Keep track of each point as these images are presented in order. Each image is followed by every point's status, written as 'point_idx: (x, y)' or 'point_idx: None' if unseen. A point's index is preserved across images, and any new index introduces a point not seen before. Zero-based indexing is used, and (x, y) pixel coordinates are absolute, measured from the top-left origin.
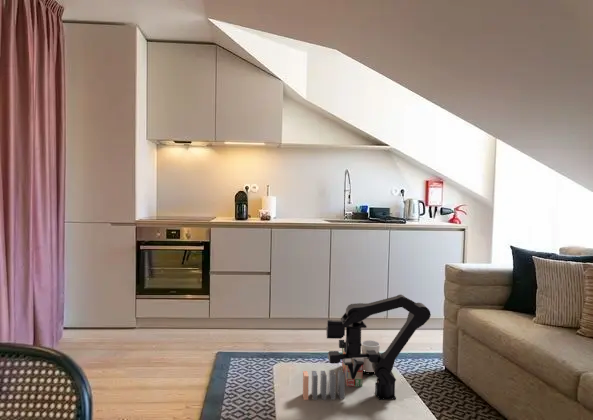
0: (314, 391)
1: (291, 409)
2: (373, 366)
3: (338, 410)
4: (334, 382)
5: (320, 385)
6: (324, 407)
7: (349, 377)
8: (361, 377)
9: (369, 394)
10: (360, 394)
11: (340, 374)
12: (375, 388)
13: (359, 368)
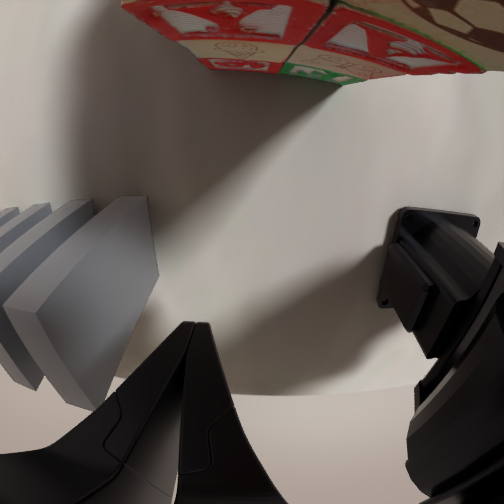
0: None
1: None
2: (469, 437)
3: (137, 363)
4: None
5: (1, 228)
6: None
7: (216, 55)
8: (363, 77)
9: (350, 229)
10: (285, 224)
11: (59, 392)
12: (402, 269)
13: (388, 49)
